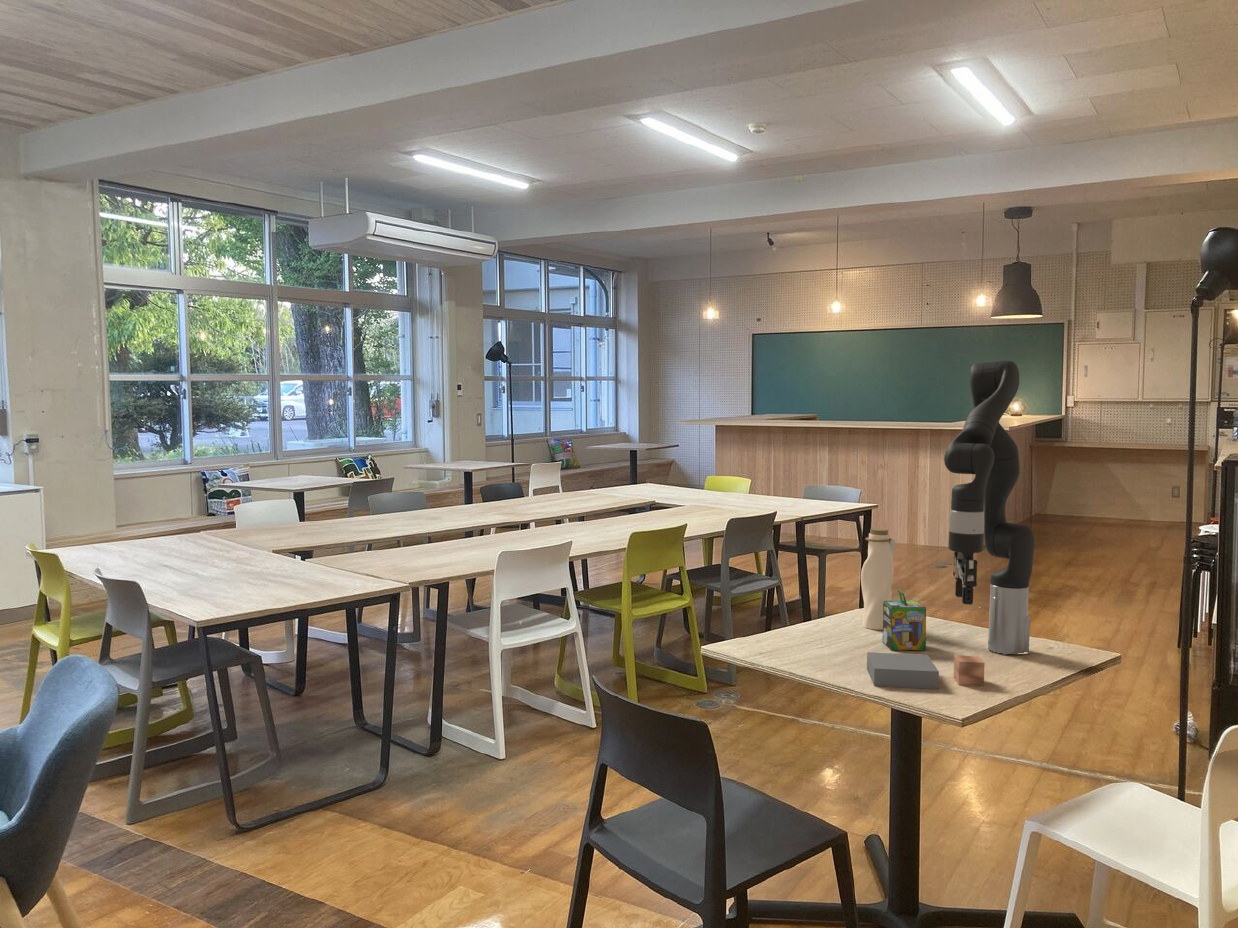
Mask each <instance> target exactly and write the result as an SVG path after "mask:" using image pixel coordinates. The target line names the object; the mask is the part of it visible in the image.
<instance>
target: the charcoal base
mask: <svg viewBox="0 0 1238 928" xmlns="http://www.w3.org/2000/svg"><path fill="white" fill-rule="evenodd" d="M866 653H867V654H866V671H867V672H868V675H869V677H870V680H871V682H872V685H873V686H874V687H889V688H890V687H891V688H892V687H893V688H907V689H908V688H909V689H910V688H911V689H927V690H928V689H929V690H930V689H931V690H939V677H940V671H939V670H938V668H937V666H936V665H935V664H934V663H933V661H932V659H931V658H930V657H929V655H928V654H918V653H917V654H915V653H914V654H913V653H911V654H910V653H909V654H908V653H893V652H874V651H872V652H870V651H867V652H866Z"/></svg>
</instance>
